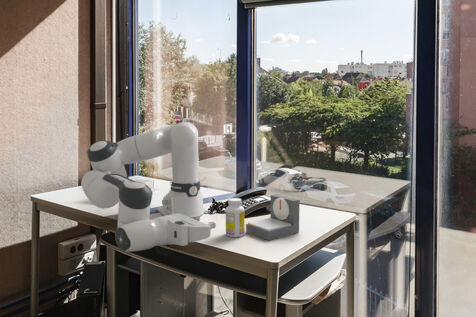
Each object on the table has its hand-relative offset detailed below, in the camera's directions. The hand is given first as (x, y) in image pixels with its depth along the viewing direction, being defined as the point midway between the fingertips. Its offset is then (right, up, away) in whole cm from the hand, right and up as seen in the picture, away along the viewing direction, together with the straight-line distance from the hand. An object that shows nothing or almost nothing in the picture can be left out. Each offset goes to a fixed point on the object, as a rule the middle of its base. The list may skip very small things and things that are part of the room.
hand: (206, 221), depth 133 cm
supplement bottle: (+10, -6, +8) cm, 14 cm away
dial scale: (+23, -6, +11) cm, 26 cm away
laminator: (-47, +1, +72) cm, 86 cm away
